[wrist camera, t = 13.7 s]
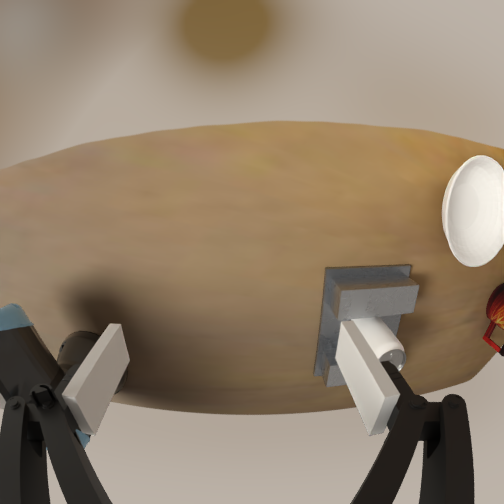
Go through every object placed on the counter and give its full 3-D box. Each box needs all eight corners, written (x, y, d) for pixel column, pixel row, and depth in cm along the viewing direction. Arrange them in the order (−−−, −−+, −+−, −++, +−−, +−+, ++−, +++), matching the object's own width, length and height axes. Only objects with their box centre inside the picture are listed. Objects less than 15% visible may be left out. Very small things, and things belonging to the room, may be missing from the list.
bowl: (479, 141, 40) (501, 141, 34) (498, 230, 46) (517, 238, 39) (411, 175, 42) (432, 178, 36) (437, 274, 48) (455, 286, 41)
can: (385, 316, 48) (416, 352, 37) (366, 343, 50) (391, 384, 39) (359, 304, 47) (388, 342, 36) (339, 334, 49) (362, 376, 38)
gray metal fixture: (313, 373, 52) (319, 393, 47) (325, 267, 46) (335, 281, 40) (386, 363, 53) (397, 380, 47) (408, 264, 47) (425, 276, 41)
